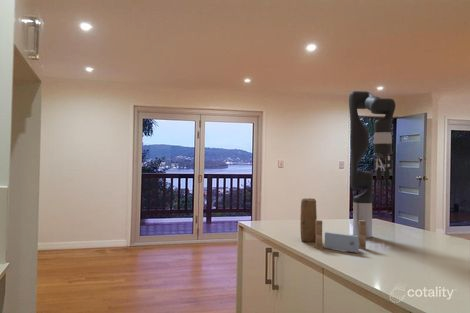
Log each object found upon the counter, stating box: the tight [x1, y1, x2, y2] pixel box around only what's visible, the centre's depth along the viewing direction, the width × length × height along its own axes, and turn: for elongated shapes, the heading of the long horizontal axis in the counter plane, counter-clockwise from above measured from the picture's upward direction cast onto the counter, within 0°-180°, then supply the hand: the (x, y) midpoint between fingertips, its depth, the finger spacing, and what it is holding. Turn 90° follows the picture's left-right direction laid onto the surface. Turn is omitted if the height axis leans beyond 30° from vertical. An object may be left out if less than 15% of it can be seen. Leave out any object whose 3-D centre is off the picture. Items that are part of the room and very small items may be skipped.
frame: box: [315, 219, 367, 250], centre depth 169 cm, size 2×21×12 cm, turn 91°
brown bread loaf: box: [299, 198, 318, 243], centre depth 186 cm, size 11×8×20 cm
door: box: [324, 231, 360, 254], centre depth 163 cm, size 3×14×6 cm, turn 52°
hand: (382, 179), depth 172 cm, fingers open, 8 cm apart
